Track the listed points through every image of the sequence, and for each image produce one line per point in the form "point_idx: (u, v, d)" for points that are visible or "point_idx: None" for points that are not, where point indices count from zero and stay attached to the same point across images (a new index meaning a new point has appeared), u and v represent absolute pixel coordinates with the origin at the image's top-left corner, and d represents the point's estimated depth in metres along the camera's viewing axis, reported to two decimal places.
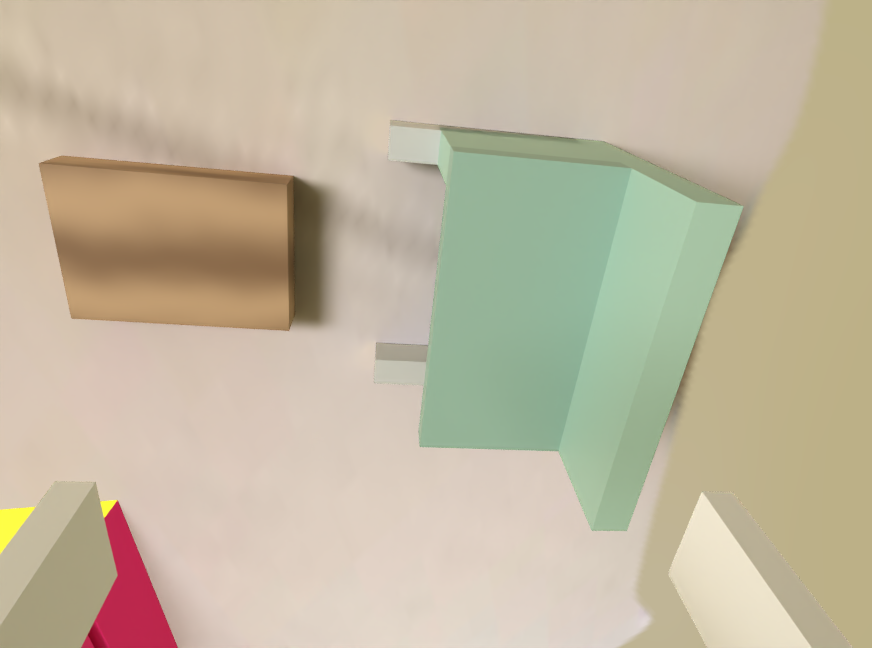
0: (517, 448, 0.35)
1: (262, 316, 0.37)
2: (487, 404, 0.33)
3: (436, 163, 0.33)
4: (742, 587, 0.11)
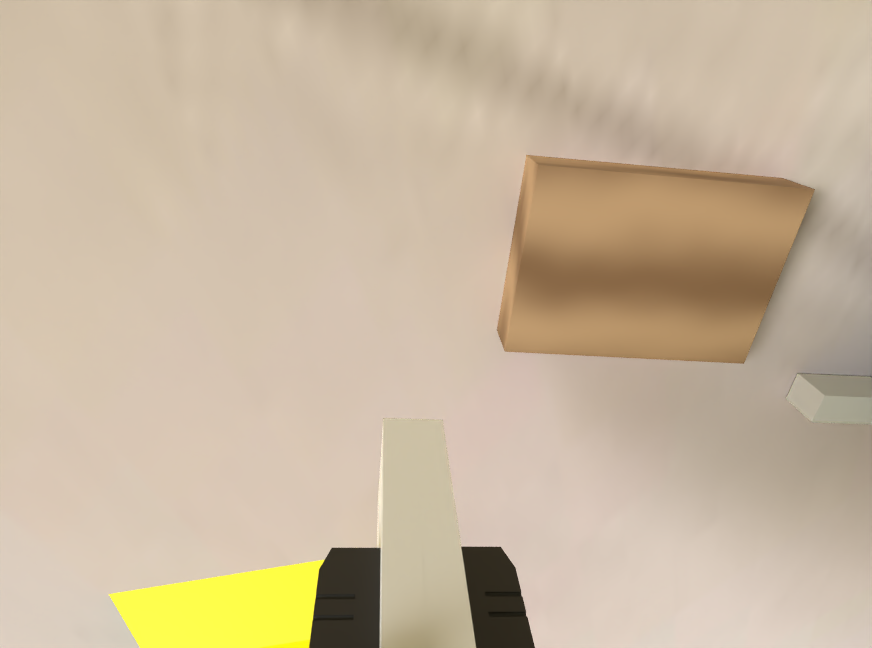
0: None
1: (721, 347, 0.31)
2: None
3: None
4: None
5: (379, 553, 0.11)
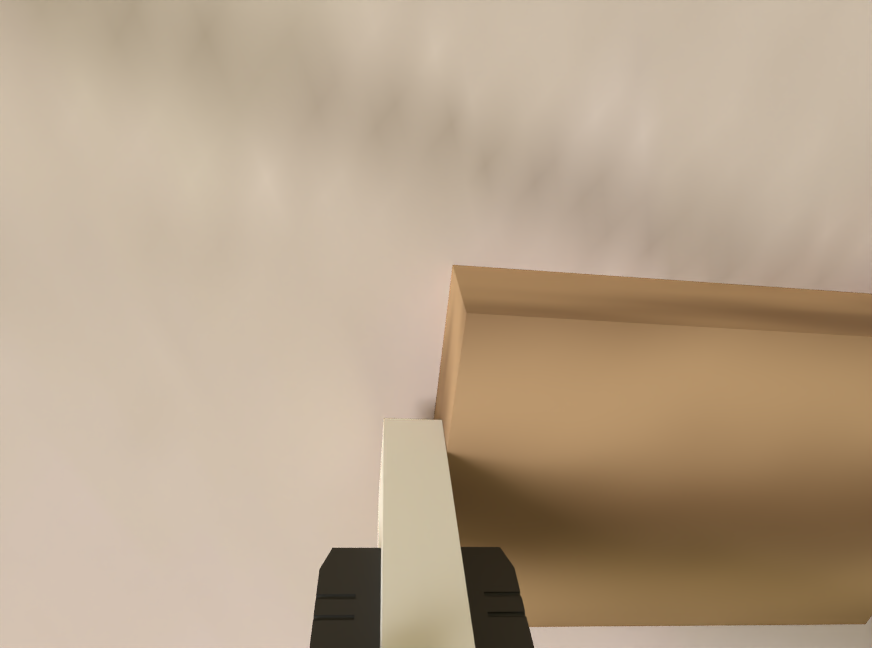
0: None
1: (828, 603, 0.17)
2: None
3: None
4: None
5: (380, 553, 0.11)
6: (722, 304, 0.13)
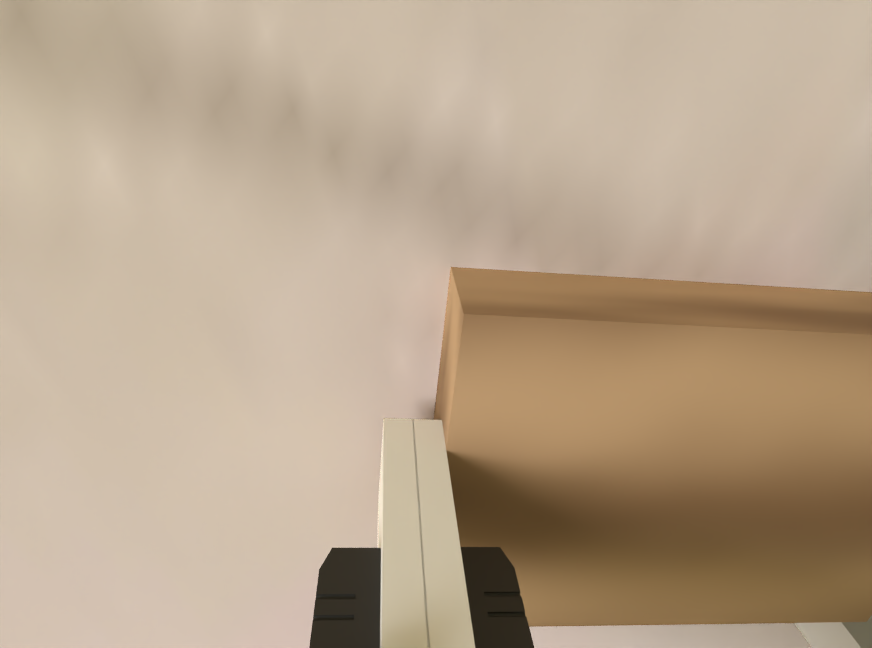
0: None
1: (829, 601, 0.17)
2: None
3: None
4: None
5: (379, 553, 0.11)
6: (719, 303, 0.13)
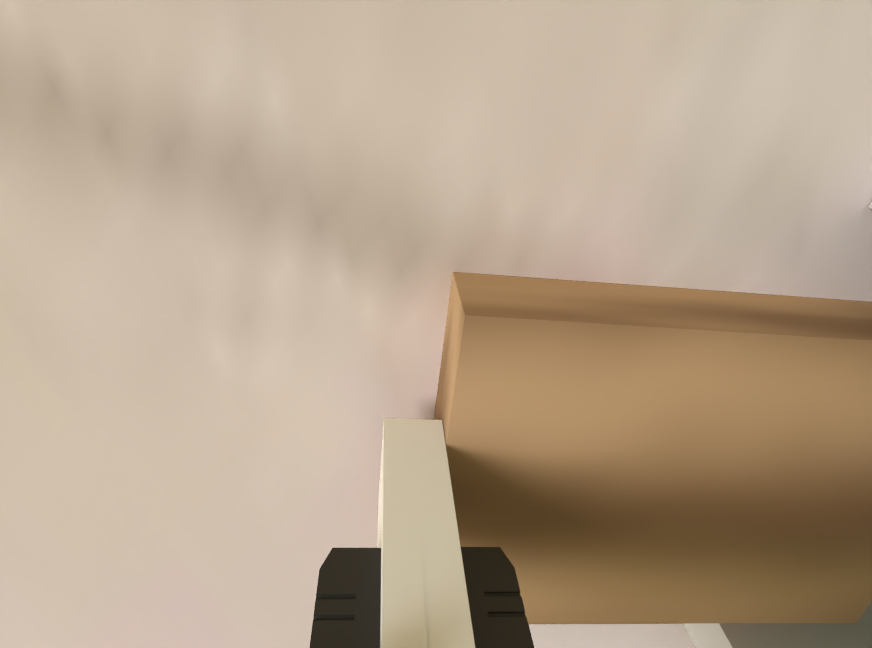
0: None
1: (819, 602, 0.17)
2: None
3: None
4: None
5: (380, 553, 0.11)
6: (714, 307, 0.13)
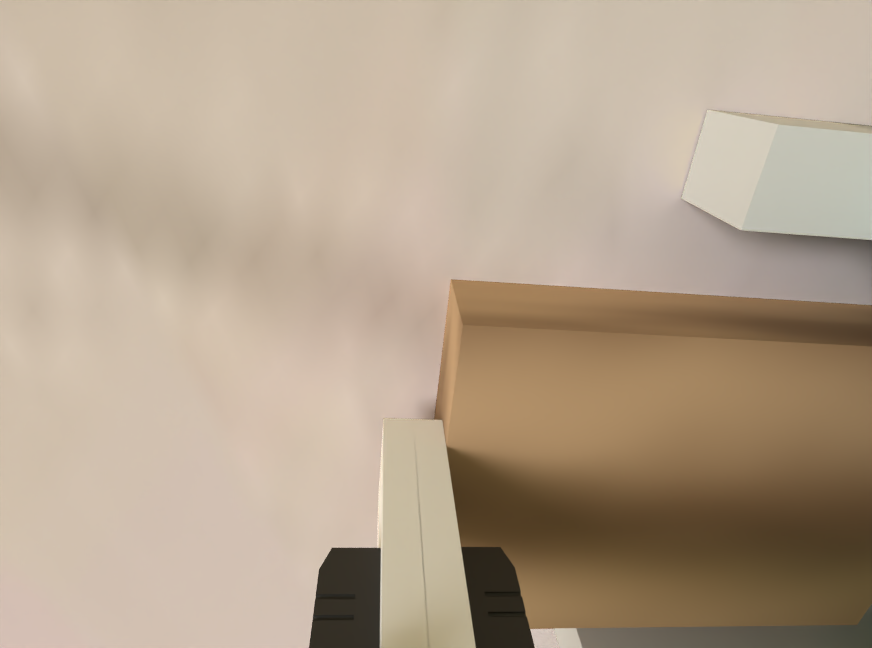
0: None
1: (820, 604, 0.17)
2: None
3: None
4: None
5: (379, 553, 0.11)
6: (712, 314, 0.13)
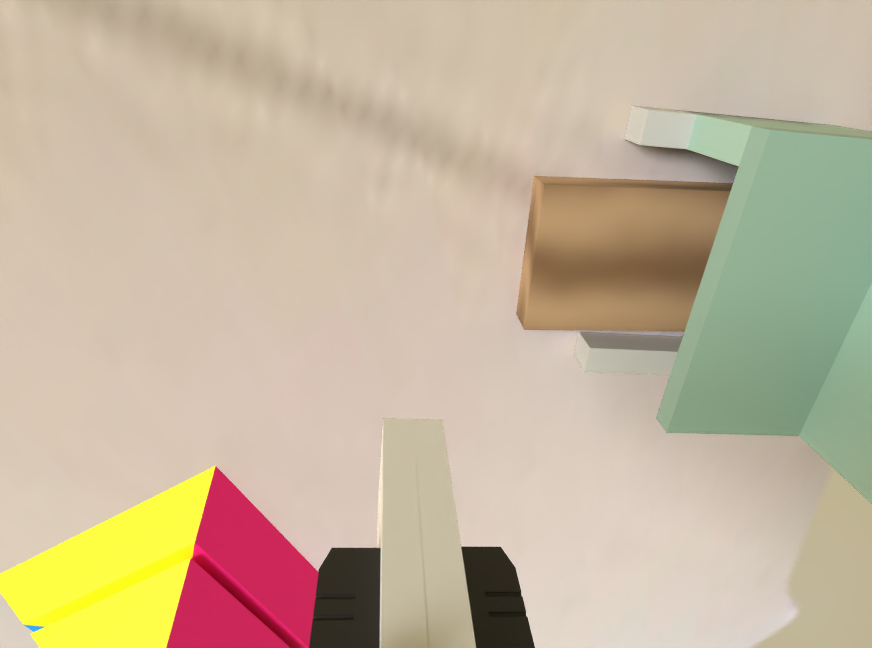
0: (760, 433, 0.35)
1: None
2: (742, 388, 0.33)
3: (686, 147, 0.33)
4: None
5: (379, 553, 0.11)
6: (634, 183, 0.36)
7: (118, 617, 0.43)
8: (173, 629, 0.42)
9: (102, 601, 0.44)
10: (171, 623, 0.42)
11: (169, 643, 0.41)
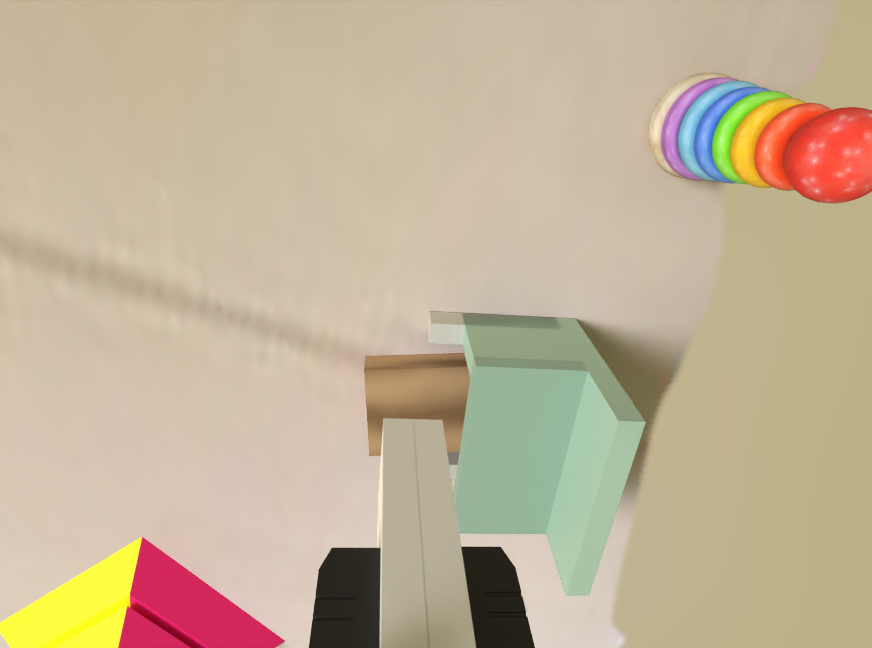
0: (518, 532, 0.51)
1: None
2: (497, 506, 0.50)
3: (461, 344, 0.50)
4: None
5: (379, 553, 0.11)
6: (432, 360, 0.52)
7: None
8: None
9: (70, 639, 0.61)
10: None
11: None
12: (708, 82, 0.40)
